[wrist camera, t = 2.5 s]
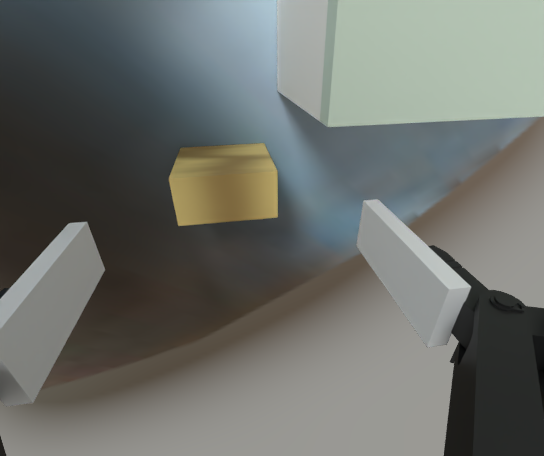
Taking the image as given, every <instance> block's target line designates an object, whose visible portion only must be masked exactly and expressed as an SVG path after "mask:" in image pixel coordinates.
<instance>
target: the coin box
mask: <svg viewBox="0 0 544 456" xmlns="http://www.w3.org/2000/svg"><path fill="white" fill-rule="evenodd" d="M277 91H278V92H280V93H281V94H282V95H284V96H285V97H287V98H288V99H289V100H291V101H292V102H293V103H295V104H296V105H298V106H299V107H300V108H302V109H303V110H305V111H306V112H307V113H309V114H310V115H311V116H313V117H314V118H316V119H317V120H318V121H320V122H321V123H323V124H324V125H325V126H327V127H342V126H362V125H383V124H403V123H423V122H443V121H463V120H483V119H503V118H523V117H543V116H544V0H277Z"/></svg>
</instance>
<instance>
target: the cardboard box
mask: <svg viewBox="0 0 544 456" xmlns="http://www.w3.org/2000/svg"><path fill="white" fill-rule="evenodd" d="M169 183H170V188H171V193H172V197H173V202H174V207H175V212H176V217H177V222H178V226H185V225H196V224H208V223H219V222H231V221H242V220H254V219H266V218H277V217H278V171H277V169H276V167H275V165H274V163H273V161H272V159H271V157H270V155H269V152H268V150H267V148H266V146H265V144H264V143H256V144H238V145H220V146H202V147H184V148H180V150H179V153H178V156H177V158H176V161H175V163H174V166H173V169H172V171H171V174H170V176H169Z"/></svg>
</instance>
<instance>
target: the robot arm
mask: <svg viewBox="0 0 544 456" xmlns="http://www.w3.org/2000/svg"><path fill="white" fill-rule="evenodd" d="M356 246H357V247H358V249H359V250H360V252H361V253H362V255H363V256H364V257H365V259H366V260H367V262H368V263H369V265H370V266H371V267H372V269H373V270H374V272H375V273H376V275H377V276H378V278H379V279H380V280H381V282H382V283H383V285H384V286H385V287H386V289H387V290H388V292H389V293H390V295H391V296H392V297H393V299H394V301H395V302H396V303H397V305H398V306H399V308H400V309H401V311H402V312H403V314H404V315H405V316H406V318H407V319H408V321H409V322H410V323H411V325H412V326H413V328H414V329H415V331H416V332H417V334H418V335H419V336H420V338H421V339H422V341H423V342H424V344H425V345H426V347H434V346H441V345H447V343H448V341H449V338H450V336H451V334H453V335H454V336H455V337H456V339H457V340H458V341H459V343H458V345H457V347H456V349H455V352H454V354H453V356H452V358H451V360H450V362H451V363H454V370H453V379H452V389H451V396H450V406H449V415H448V423H447V432H446V440H445V450H444V456H544V308H537V307H528V306H525V305H524V304H523V303H522V302H521V301H520V300H518V299H517V298H515V297H513V296H512V295H509V294H507V293H504V292H501V291H496V290H488V289H487V288H486V287H485V286H484V285H483V284H481V283H480V282H479V281H478V280H477V279H476V278H475V277H474V276H472V275H471V274H470V273H469V272H468V271H467V270H466V269H464V268H462V266H461V265H460V264H459V263H458V262H456V261H455V260H454V259H453V258H452V257H451V256H450V255H449V254H448V253H446V252H445V251H443V250H441V249H439V248H437V247H435V246H427V245H426V244H425V243H424V242H423V241H422V240H421V239H420V238H418V236H416V235H415V234H414V233H413V232H412V231H411V230H410V229H409V228H408V227H407V226H406V225H405V224H404V223H403V222H402V221H401V220H399V219H398V218H397V217H396V216H395V215H394V214H393V213H392V212H391V211H390V210H389V209H388V208H387V207H386V206H385V205H383V204H382V203H381V202H380V201H379V200H378V199H375V200H363V207H362V213H361V219H360V226H359V232H358V239H357V245H356ZM104 271H105V268H104V265H103V263H102V260H101V257H100V255H99V252H98V249H97V247H96V244H95V242H94V239H93V236H92V234H91V231H90V228H89V226H88V223H87V222H77V223H69V224H68V225H67V226H66V227H65V228H64V229H63V230H62V231H61V232H60V234H59V235H58V236H57V237H56V238H55V239H54V240H53V241H52V242H51V243H50V245H49V246H48V247H47V248H46V249H45V250H44V251H43V252H42V253H41V255H40V256H39V257H38V258H37V259H36V260H35V261H34V262H33V263H32V264H31V266H30V267H29V268H28V269H27V270H26V271H25V272H24V273H23V274H22V275H21V277H20V278H19V279H18V280H17V281H16V282H15V283H14V284H13V285H12V287H11V288H5V289H3V290H2V291H0V400H1V401H2V402H3V404H4V405H5V406H13V405H21V404H28V403H33V402H34V400H35V398H36V396H37V394H38V393H39V391H40V389H41V387H42V385H43V383H44V382H45V380H46V378H47V376H48V374H49V372H50V371H51V369H52V367H53V365H54V363H55V361H56V359H57V358H58V356H59V354H60V352H61V350H62V348H63V347H64V345H65V343H66V341H67V339H68V337H69V336H70V334H71V332H72V330H73V328H74V326H75V324H76V323H77V321H78V319H79V317H80V315H81V313H82V312H83V310H84V308H85V306H86V304H87V302H88V301H89V299H90V297H91V295H92V293H93V291H94V290H95V288H96V286H97V284H98V282H99V280H100V278H101V277H102V275H103V273H104ZM0 456H6V453H5V450H4V447H3V443H2V440H1V437H0Z"/></svg>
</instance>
